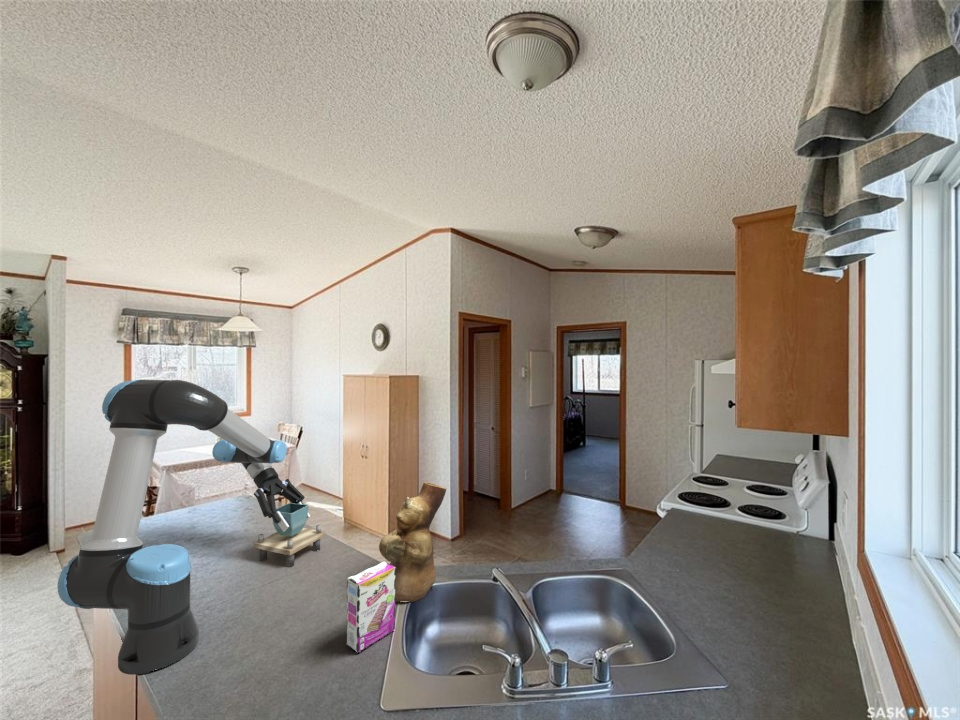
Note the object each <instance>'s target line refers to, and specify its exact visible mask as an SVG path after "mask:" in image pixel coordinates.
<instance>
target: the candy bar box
mask: <svg viewBox="0 0 960 720" xmlns="http://www.w3.org/2000/svg"><path fill="white" fill-rule="evenodd" d="M346 581H347V582H346V584H347V585H346V586H347V587H346V589H347V591H346V593H347V594H346V595H347V596H346V599H347V600H346V603H347V604H346V609H347V611H346V646H347V645H348V646H349V647H348V646H347V647H348V648H350V647H351V648H352V649H354V650H355V651H356V652H359V651H361V650H363V649H365V648H366V647H368V646H369V647H371V646H372V645H371V644H373V643H374V642H376V641H377V642H379V641H380V640H382V639H383V637H384V636H385V637H386V635H387V634H388V635H390V634H391V632H392V631H393V630H394V629H395V630H396V621H395V620H396V601H395V567H394V566H392V565H390V563H388V562H386V561H382V562H380V563H377V564H375V565H374V566H371V567H369V568H366V569H364V570H362V571H360V572H358V573H355V574H353V575H352V576H351V575H350V576H349V577H347V579H346ZM393 632H394V631H393ZM393 632H392V633H393ZM389 633H390V634H389ZM388 635H387V636H388ZM385 637H384V638H385ZM381 638H382V639H381ZM379 639H380V640H379ZM378 640H379V641H378ZM377 642H376V643H377ZM374 644H375V643H374ZM374 644H373V645H374ZM370 645H371V646H370ZM369 647H368V648H369ZM351 648H350V649H351ZM352 649H351V650H352ZM366 649H367V648H366ZM366 649H365V650H366ZM363 651H364V650H363ZM356 652H355V653H356Z"/></svg>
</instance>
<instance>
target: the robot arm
mask: <svg viewBox="0 0 960 720" xmlns="http://www.w3.org/2000/svg"><path fill="white" fill-rule="evenodd" d="M101 408H102V409H101V411H102V414H103V415H104V419H105V420H107V422H109V423H110V425H109V429H108V430H109V431H110V433H111V434H113V435H114V441H113V445H112V448H111V453H110V456H109V457H110V458H109V461H108V466H107V470H106V471H107V472H106V474H105V480H104V483H103V486H102V491H101V496H100V500H99V504H98V508H97V513H96V516H95V520H94V526H93V530H92V534H91V537H90V539H89V540H88V541H87V542H85V543H84V544H83V545H82V546H80V549H79V551H78V554H77V555H76V556H74V557H72V558H71V559H70V560H69V561H68V562H67V564H66V565H65V566H64V567H63V568H62V570H61V571H60V573H59V577H58V579H57V580H58V581H57V593H58V596H59V598H60V600H61V601H62V602H63V603H65V605H68V606H69V607H73V608H74V607H75V608H80V609H83V610H84V609H85V610H91V609H104V610H105V609H108V610H126V611H127V630H126V632H125V635H124V638H123V641H122V643H121V646H120V649H119V652H118V656H117V668H118V670H119V671H120V672H121V673H123V674H124V675H129V676H130V675H132V676H134V675H143V674H149V672H150V671H153V670H155V669H160V668H162V669H164V668H163V667H165V666H167V667H169V666H171V665H173V664H175V663H177V662H179V661H181V660H183V657H184V658H185V657H186V656H188V655H189V654H190V653H191V652H193V650H194V649H196V647H197V645H198V644H199V641H200V629H199V628H200V627H199V625H198V623H197V620H196V619H195V616H194V613H193V612H192V609H191V569H192V566H191V565H192V564H191V562H190V561H191V559H190V554H189V551H188V550H187V549H186V548H185V547H183V546H181V545H179V544H173V543H163V544H159V545H156V544H155V545H150V546H145V547H143V545H144V542H143V541H142V540H141V539H140V537H139V536H138V533H139V529H140V523H141V520H142V519H141V518H142V516H143V509H144V505H145V500H146V495H147V492H148V491H147V490H148V485H149V481H150V476H151V472H152V467H153V462H154V457H155V454H156V449H157V444H158V440H159V439H160V437H162V436H164V435H165V434H167V430H168V425H179V426H180V425H181V426H189V427H194V428H196V429H197V430H199V431H203V432H204V431H208V432H211V433H212V434H213V435H215V436H217V438H220V440H218V441H217V442H216V443H214V446H213V448H212V457H213V459H215V461H217V462H220V463H225V464H226V463H229V464H230V463H232V464H233V463H237V464H241V465H242V466H243V468H244V469H245V471H246V472H247V474H248V475H249V477H250V478H251V480H253V483H254V484H255V486H256V487H257V489H256V490H255V491H254V493H253V495H254V497H255V498H256V500H257V502H258V504H259V507H260V510H261V513H262V515H263V517H264V518H268V519H271V518H273V519H272V521H273V520H274V521H275V523H276V524H277V523H278V525H279V526H280V528H281V529H282V531H283V532H284V531H286V530H287V528H288V527H289V525H288V524H287V522H286V521H285V519H284V518H283V516H282V515H281V513H280V512H279V511H278V512H276V509H277V507H276V505H277V504H276V499H275V498H276V497H275V496H279V497H283V498H285V499H286V500H287V501H289V502H290V503H295V504H304V503H303V501H304V500H305V496H304V495H303V493H302V492H301V491H299V489H298V488H297V487H295V486H294V485H293V484H292V482H291V480H290V479H289V478H286V479H285V480H281V479H280V478H279V474H278V472H277V470H276V469H275V467H273V465H272V464H280V463H281V462H283V461H284V460H285V458H286V456H287V453H288V447H287V444H286V442H285V441H283V440H278V439H275V440H273V439H270V437H268V436H266V435H265V434H263V433H262V432H261V431H259V430H258V429H257V428H255V427H254V426H252V425H251V424H250V423H248V421H246V420H245V419H243V418H241V417H240V416H239V415H237V413H235V412H233V411H232V410H231V409H229V406H228V403H227V402H226V401H225V400H224V399H222V398H221V397H220V396H218V395H217V394H215V393H213V392H212V391H210V390H208V389H206V388H204V387H202V386H201V385H199V384H195V383H193V382H190V381H187V380H181V379H170V380H169V379H141V378H140V379H134V380H126V381H122V382H119V383H118V384H117V385H114V386H113V387H111V389H110V390H109V391H107V393H106V394H105V396H104V399H103V401H102V405H101ZM310 517H311V514H310V513H309V512H308V515H307V520H306V522H307V521H308V520H309V518H310ZM178 660H179V661H178ZM176 661H177V662H176ZM174 662H175V663H174ZM172 663H173V664H172ZM170 664H171V665H170ZM168 665H169V666H168ZM165 668H166V667H165ZM160 670H161V669H160ZM153 672H154V671H153ZM150 673H151V672H150Z"/></svg>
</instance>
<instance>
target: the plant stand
mask: <svg viewBox="0 0 960 720" xmlns="http://www.w3.org/2000/svg"><path fill="white" fill-rule="evenodd" d="M315 527H316V528H315V529H311V528H307V527H306V528H305V527H303V529H302V530H301V531H300V532H298V533H297V534H295V535H293V536H284V535H280V534H279V533H278V532H277V531H276V532H275V533H273V534H270V535H268V536H266V537H265V535H264V533H260V534H258V535H257V536H258V537H257V539H258V541H256V542H254V543H253V548H255V549H259V552H258V554H259V561H260V562H263V561H267V560H268V552H273V553H277V554H282V555H285V556H286V557H285V558H286V560H285V561H286V566H285V567H286V568H292V567H294V566H295V554H296V553H297V552H299V551H302V550H303V549H304V548H307V547H308V546H309V545H311V544H312V551H313V550H314V551H313V552H318V551H317V550H319V551H320V550H321V539H322V538H324V537H325V536H326V531H324V530H322V525H321V524H317V525H316V526H315Z"/></svg>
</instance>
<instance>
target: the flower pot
mask: <svg viewBox="0 0 960 720" xmlns="http://www.w3.org/2000/svg"><path fill="white" fill-rule="evenodd" d="M309 508H310V507H309V504H304V503H303V504H295V503H292V502H288V503H286V504H283V505H281V506H279V507H276V512H278V511H279V512H280V513H281V515H282V516H283V518H284V519H285V521H286V522H287V524H288V525H289V527H288V528H287V530H286V531H284V532H283V531H282V529H281V528H280V526H279V525H278V523H277V524H276V523H275V521H274V520H273V518H272V517H271V518H272V524H273V528H274V529H275V531H276V532H278V533H279V534H280V535H284V536H293V535H295V534H297V533H298V532H300V531H301V530H302V529H303V528H305V526H306V523H307V521H308V520H307V515H308V513H309ZM306 520H307V521H306Z"/></svg>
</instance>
